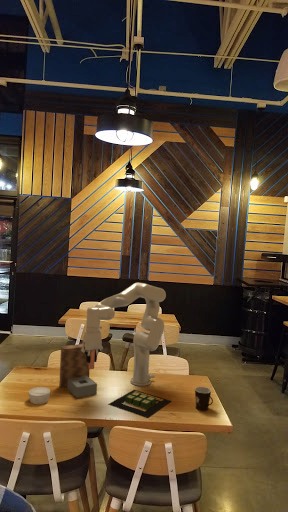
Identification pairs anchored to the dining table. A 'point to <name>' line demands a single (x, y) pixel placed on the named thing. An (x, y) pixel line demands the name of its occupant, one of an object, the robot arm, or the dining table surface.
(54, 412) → the dining table surface
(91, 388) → the socket block
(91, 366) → the peg
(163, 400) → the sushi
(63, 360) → the wood grain panel
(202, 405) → the coffee mug
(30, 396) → the ramekin
